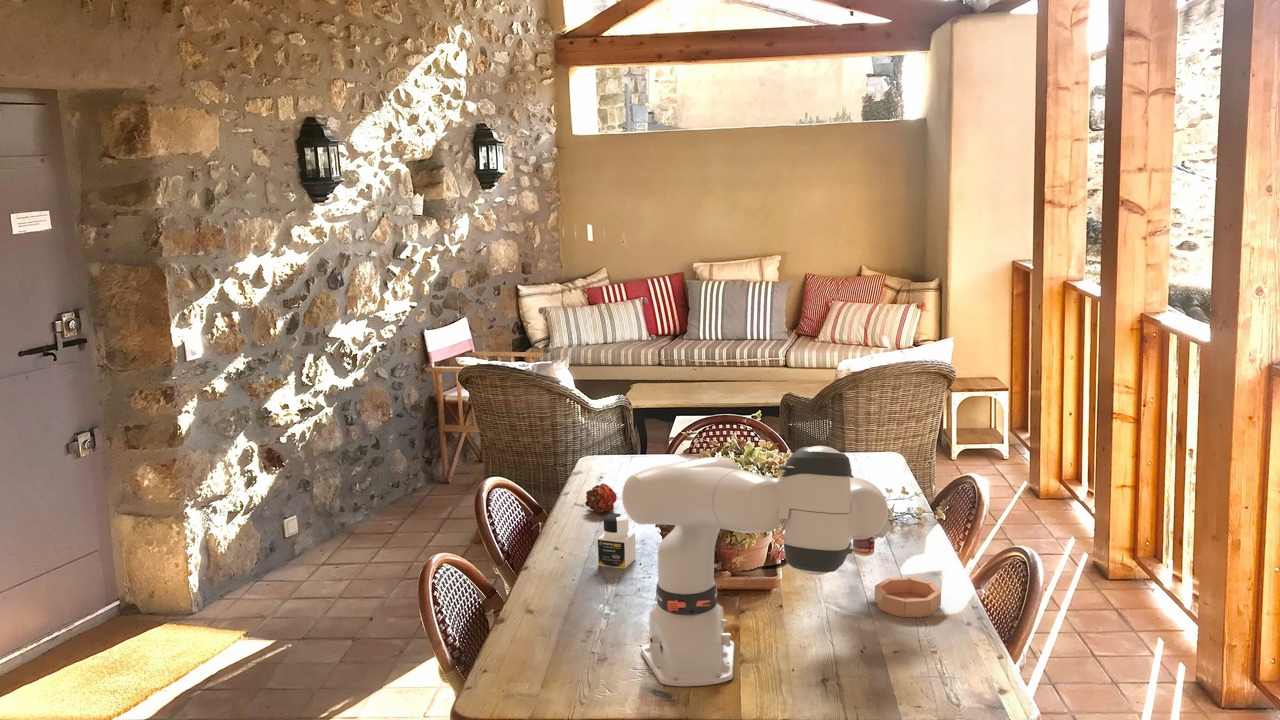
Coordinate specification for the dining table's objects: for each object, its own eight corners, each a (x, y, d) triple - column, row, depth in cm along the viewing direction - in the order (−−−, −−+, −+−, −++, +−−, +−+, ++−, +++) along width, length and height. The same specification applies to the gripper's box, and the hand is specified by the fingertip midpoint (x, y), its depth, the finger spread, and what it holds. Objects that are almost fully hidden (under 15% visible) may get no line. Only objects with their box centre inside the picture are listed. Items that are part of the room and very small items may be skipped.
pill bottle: (874, 557, 245) (875, 521, 243) (852, 555, 246) (853, 520, 244) (874, 549, 249) (875, 514, 248) (853, 548, 250) (853, 513, 249)
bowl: (947, 615, 233) (947, 598, 232) (887, 619, 232) (887, 602, 231) (926, 592, 246) (926, 576, 245) (869, 595, 245) (869, 579, 244)
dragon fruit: (595, 524, 303) (601, 516, 315) (620, 506, 302) (625, 498, 314) (577, 499, 303) (583, 492, 315) (601, 481, 303) (607, 475, 314)
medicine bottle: (598, 566, 268) (596, 519, 265) (609, 556, 274) (608, 510, 272) (625, 569, 265) (623, 521, 263) (636, 559, 271) (634, 512, 269)
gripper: (794, 498, 247) (826, 530, 255) (860, 523, 231) (892, 556, 238) (809, 476, 249) (840, 508, 256) (876, 498, 232) (907, 532, 240)
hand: (865, 531), depth 247 cm, fingers closed on pill bottle, 5 cm apart
